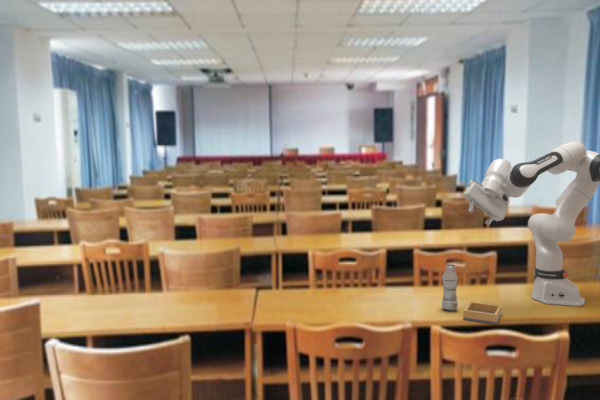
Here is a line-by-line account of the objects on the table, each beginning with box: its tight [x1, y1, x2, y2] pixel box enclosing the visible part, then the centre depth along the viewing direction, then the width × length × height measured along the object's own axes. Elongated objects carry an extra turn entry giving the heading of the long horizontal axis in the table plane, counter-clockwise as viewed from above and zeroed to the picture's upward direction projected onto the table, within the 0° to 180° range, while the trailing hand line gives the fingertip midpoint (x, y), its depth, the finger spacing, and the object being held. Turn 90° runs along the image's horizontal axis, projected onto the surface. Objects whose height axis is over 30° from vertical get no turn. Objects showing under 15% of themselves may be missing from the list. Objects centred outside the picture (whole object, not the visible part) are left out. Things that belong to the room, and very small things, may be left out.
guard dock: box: [462, 301, 502, 325], centre depth 230 cm, size 13×13×4 cm
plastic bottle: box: [441, 263, 459, 312], centre depth 239 cm, size 6×7×20 cm
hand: (479, 217), depth 229 cm, fingers open, 8 cm apart
